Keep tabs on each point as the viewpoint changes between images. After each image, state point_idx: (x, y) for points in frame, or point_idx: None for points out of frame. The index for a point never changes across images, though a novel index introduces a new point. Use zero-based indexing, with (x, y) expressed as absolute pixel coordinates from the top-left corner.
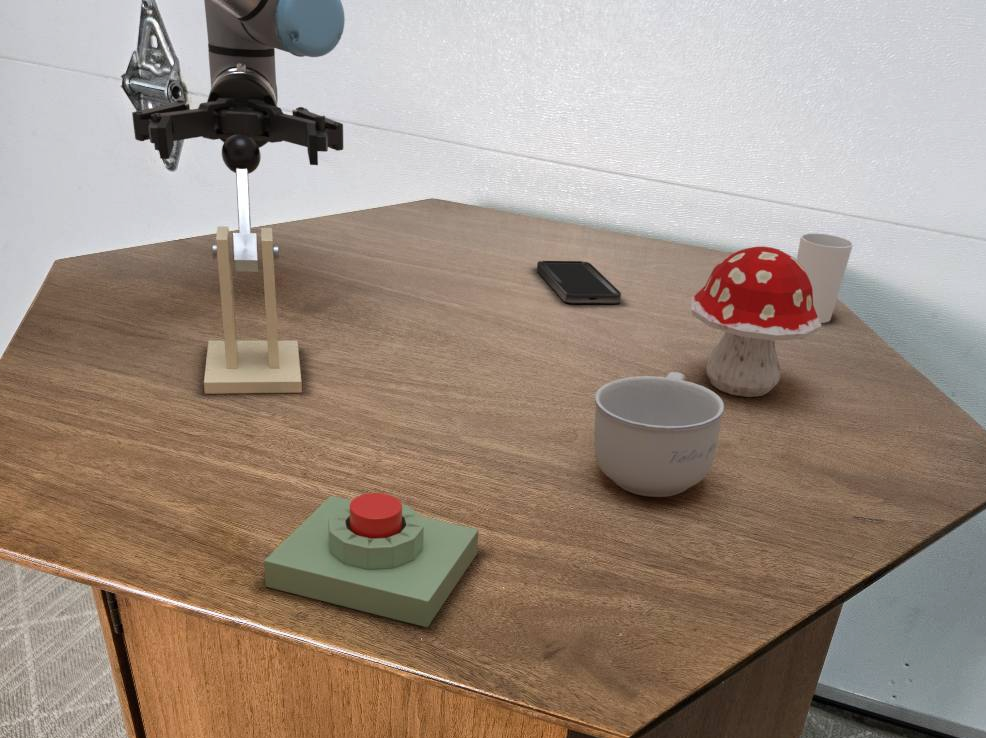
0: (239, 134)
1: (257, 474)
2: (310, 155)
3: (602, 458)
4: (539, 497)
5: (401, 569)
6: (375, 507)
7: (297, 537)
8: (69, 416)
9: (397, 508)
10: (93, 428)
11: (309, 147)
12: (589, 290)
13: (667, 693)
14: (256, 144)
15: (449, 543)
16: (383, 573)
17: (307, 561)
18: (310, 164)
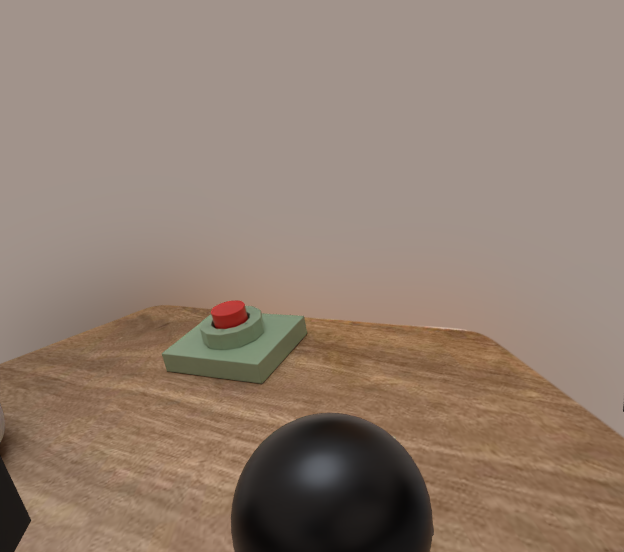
0: (317, 439)
1: None
2: (12, 491)
3: (2, 421)
4: (77, 432)
5: None
6: (228, 306)
7: (283, 330)
8: (606, 498)
9: (214, 308)
10: (548, 475)
11: (2, 462)
12: None
13: (125, 318)
14: (239, 482)
15: (187, 340)
16: None
17: (278, 319)
18: (28, 519)
